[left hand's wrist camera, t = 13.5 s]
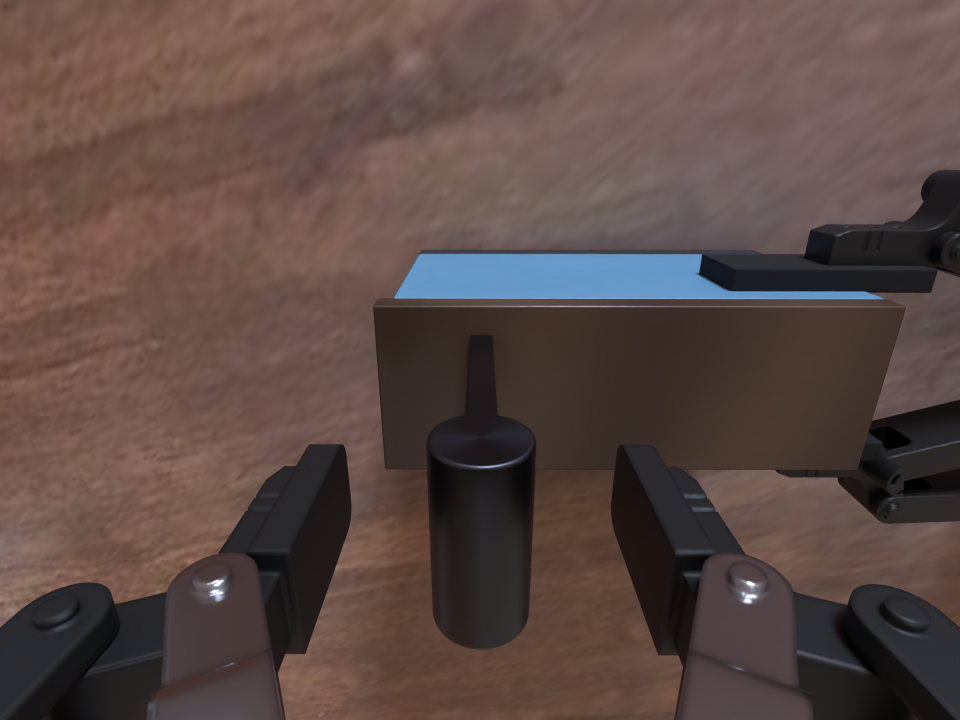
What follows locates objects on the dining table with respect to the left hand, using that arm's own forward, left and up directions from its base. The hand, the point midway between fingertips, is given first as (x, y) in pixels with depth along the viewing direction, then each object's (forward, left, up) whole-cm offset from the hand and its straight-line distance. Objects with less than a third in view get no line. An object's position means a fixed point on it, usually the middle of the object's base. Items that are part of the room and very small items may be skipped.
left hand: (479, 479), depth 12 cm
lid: (+4, -2, -6) cm, 7 cm away
